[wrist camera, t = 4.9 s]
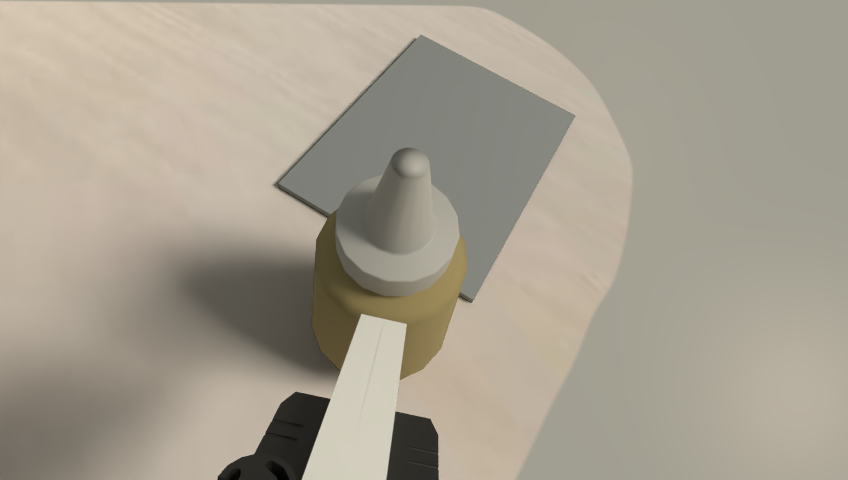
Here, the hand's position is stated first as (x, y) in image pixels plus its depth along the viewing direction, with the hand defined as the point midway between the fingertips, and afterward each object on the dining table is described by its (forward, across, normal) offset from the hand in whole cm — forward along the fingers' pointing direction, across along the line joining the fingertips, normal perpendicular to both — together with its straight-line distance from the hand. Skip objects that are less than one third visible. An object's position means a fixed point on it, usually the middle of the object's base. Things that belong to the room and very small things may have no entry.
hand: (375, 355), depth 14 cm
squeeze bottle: (+13, 0, -6) cm, 15 cm away
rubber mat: (+24, +1, +5) cm, 25 cm away
